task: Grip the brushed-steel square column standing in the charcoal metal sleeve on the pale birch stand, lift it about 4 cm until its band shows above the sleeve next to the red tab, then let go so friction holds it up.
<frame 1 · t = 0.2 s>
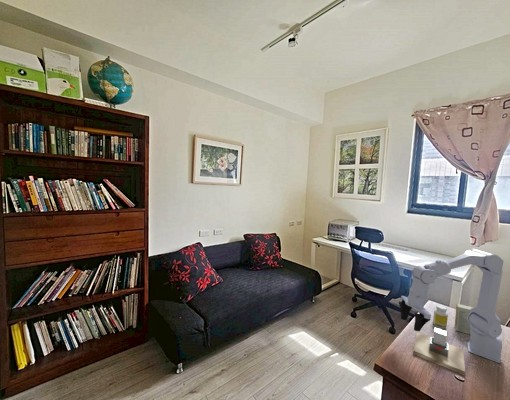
hand: (409, 324, 99), 11 cm above the table, tool pointing down, fingers open, 7 cm apart
skincare box: (462, 331, 114), on the table
supplement bottle: (439, 326, 117), on the table
stand base: (438, 353, 97), on the table
sleeve: (438, 346, 97), on the stand base, point 2 cm above the table
column: (439, 340, 97), point 6 cm above the table, slide at 0.0 cm
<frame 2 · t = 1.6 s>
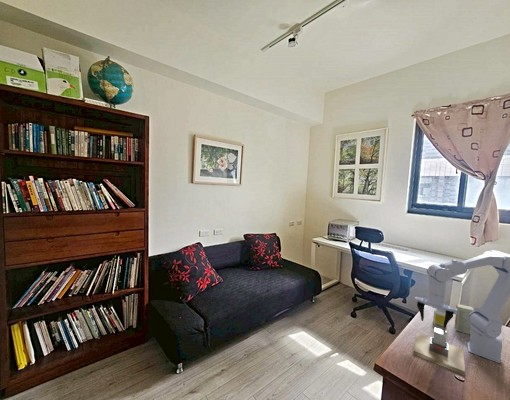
hand: (433, 323, 101), 10 cm above the table, tool pointing down, fingers open, 7 cm apart
nothing on the table moved.
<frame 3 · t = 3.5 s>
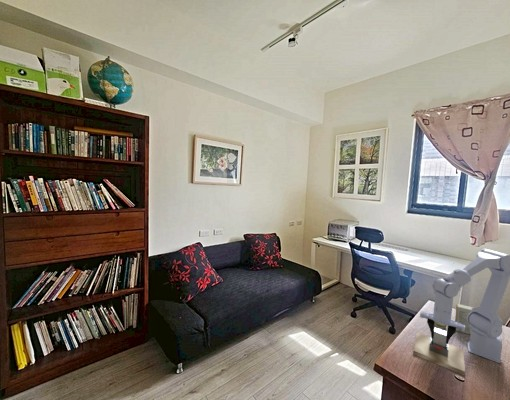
hand: (439, 339, 97), 6 cm above the table, tool pointing down, fingers closed on column, 4 cm apart
column: (439, 340, 97), point 6 cm above the table, slide at 0.0 cm, touching gripper
everything else where it was.
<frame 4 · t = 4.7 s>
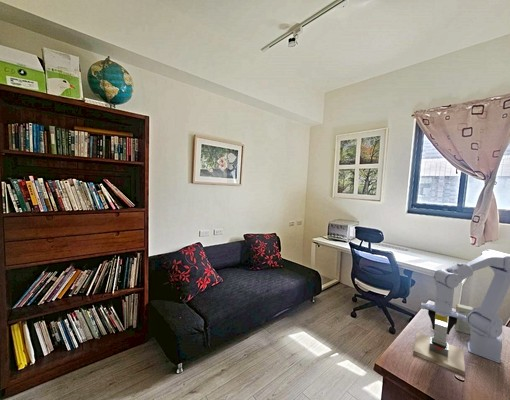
hand: (440, 330, 97), 10 cm above the table, tool pointing down, fingers closed on column, 4 cm apart
column: (440, 332, 97), point 9 cm above the table, slide at 3.6 cm, touching gripper
everything else where it was.
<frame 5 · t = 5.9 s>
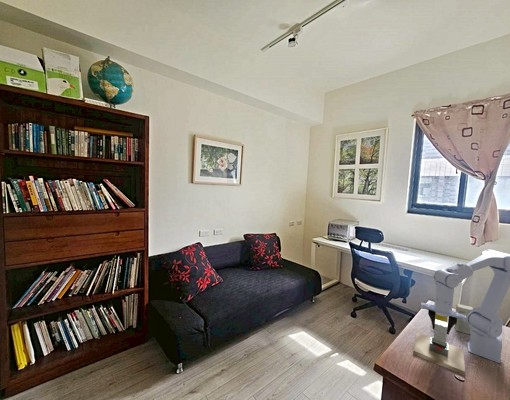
hand: (440, 330, 97), 10 cm above the table, tool pointing down, fingers closed on column, 4 cm apart
column: (440, 332, 97), point 9 cm above the table, slide at 3.6 cm, touching gripper
everything else where it was.
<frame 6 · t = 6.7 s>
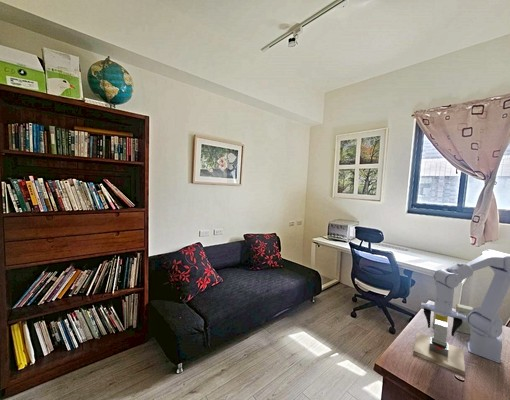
hand: (440, 330, 97), 10 cm above the table, tool pointing down, fingers open, 7 cm apart
column: (440, 332, 97), point 9 cm above the table, slide at 3.6 cm
everything else where it was.
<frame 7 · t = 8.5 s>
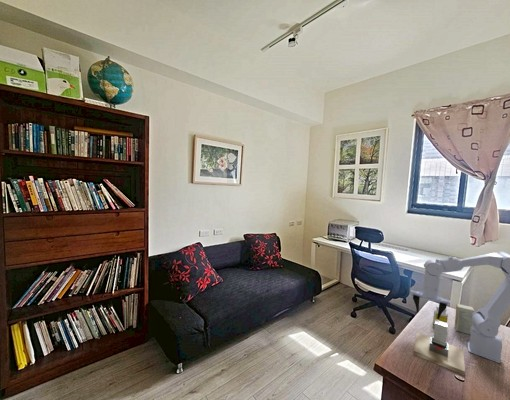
hand: (427, 314, 108), 10 cm above the table, tool pointing down, fingers open, 7 cm apart
nothing on the table moved.
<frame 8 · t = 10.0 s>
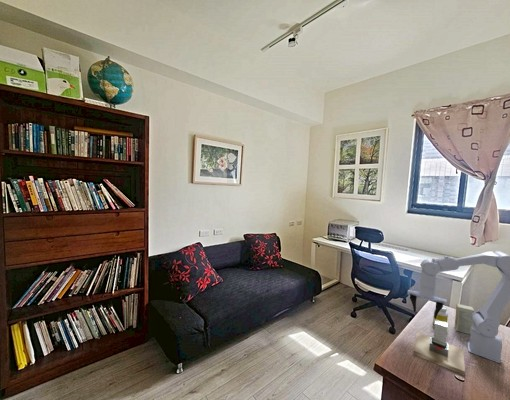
hand: (424, 314, 108), 10 cm above the table, tool pointing down, fingers open, 7 cm apart
nothing on the table moved.
at the end: column slide at 3.6 cm; the gripper is holding nothing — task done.
